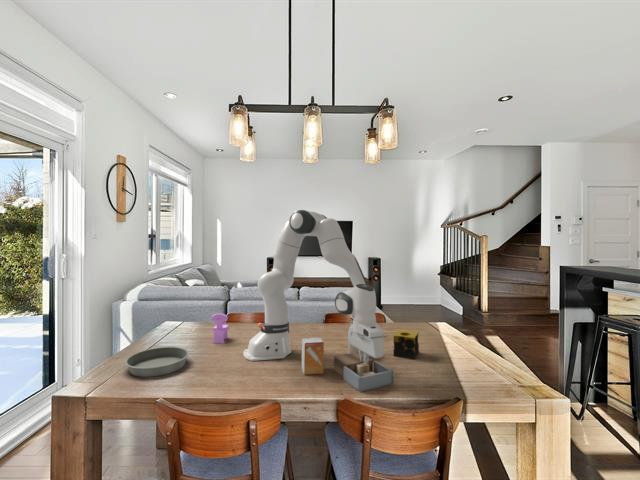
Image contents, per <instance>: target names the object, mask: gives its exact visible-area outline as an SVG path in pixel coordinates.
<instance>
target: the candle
mask: <svg viewBox="0 0 640 480" xmlns="http://www.w3.org/2000/svg"><path fill="white" fill-rule="evenodd" d="M392 338H393V357H396V358H397V357H398V358H404V359H411V360H416V358H417V357H418V354H419V353H420V350H419V348H420V345H419V331H409V330H402V329H401V330H400V329H397V330H396V332H395V333H394V334H393V336H392Z"/></svg>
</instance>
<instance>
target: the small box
mask: <svg viewBox="0 0 640 480" xmlns="http://www.w3.org/2000/svg"><path fill="white" fill-rule="evenodd" d="M324 345H325V342H324V340H323V339H322V337H319V336H318V337H305V338H303V337H302V338H301V371H302V373H303V375H304V376H306V375H315V374H316V375H317V374H318V375H319V374H324V365H325V364H324V359H325V358H324V356H325V355H324V352H325V351H324V350H325V348H324Z"/></svg>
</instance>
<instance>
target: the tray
mask: <svg viewBox="0 0 640 480" xmlns="http://www.w3.org/2000/svg"><path fill="white" fill-rule="evenodd" d="M373 373H375V374H371V375H366V376H361V377H360V376H359V375H357V374H356V373H355V372H353V371H352V370H350V369H349V368H347V367H346V366H345V367H344V376H343V381H344V382H346V383H347V384H348V385H350V386H351V387H352V388H354V389H355V390H356V391H358V393H362V392H366V391H370V390H375V389H379V388H382V387H387V386H390V385H391V386H392V385H394V373H395V372H394V370H393V369H390V367H388V366H385V365H384V364H382V363H380V362H379V361H377V360H374V361H373Z"/></svg>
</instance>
